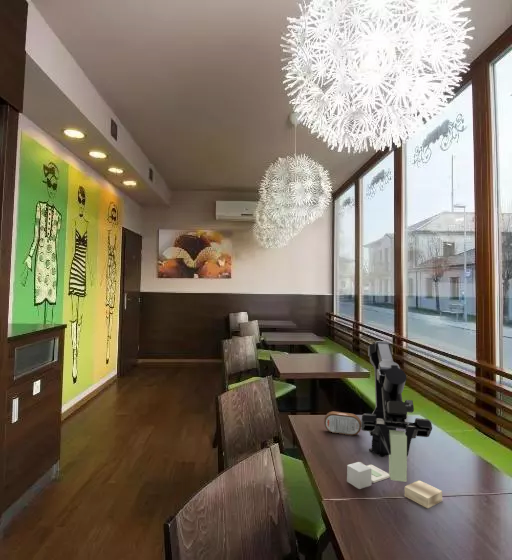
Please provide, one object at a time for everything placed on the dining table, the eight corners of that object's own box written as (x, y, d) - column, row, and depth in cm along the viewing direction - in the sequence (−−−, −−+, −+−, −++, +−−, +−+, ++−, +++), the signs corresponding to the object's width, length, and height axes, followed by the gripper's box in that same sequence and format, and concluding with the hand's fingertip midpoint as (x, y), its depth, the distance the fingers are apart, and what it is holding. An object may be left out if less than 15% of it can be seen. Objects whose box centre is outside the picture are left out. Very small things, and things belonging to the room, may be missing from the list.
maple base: (418, 490, 106) (418, 480, 107) (442, 502, 101) (442, 491, 101) (404, 497, 103) (404, 486, 103) (427, 509, 97) (427, 498, 97)
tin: (361, 434, 148) (361, 413, 149) (361, 437, 145) (361, 416, 146) (324, 430, 152) (324, 409, 153) (323, 432, 149) (323, 412, 150)
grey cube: (358, 478, 112) (359, 461, 113) (371, 485, 108) (371, 468, 108) (347, 481, 110) (347, 465, 110) (359, 489, 106) (359, 472, 106)
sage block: (388, 473, 102) (389, 429, 102) (403, 474, 101) (404, 431, 101) (390, 480, 98) (391, 435, 98) (406, 482, 97) (406, 436, 97)
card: (371, 466, 120) (371, 463, 120) (391, 476, 113) (391, 474, 113) (353, 471, 116) (353, 469, 116) (373, 483, 109) (373, 480, 109)
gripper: (362, 385, 106) (364, 438, 95) (430, 390, 102) (441, 446, 91) (360, 405, 114) (362, 455, 102) (424, 410, 110) (433, 464, 98)
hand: (398, 455), depth 98 cm, fingers closed on sage block, 4 cm apart
